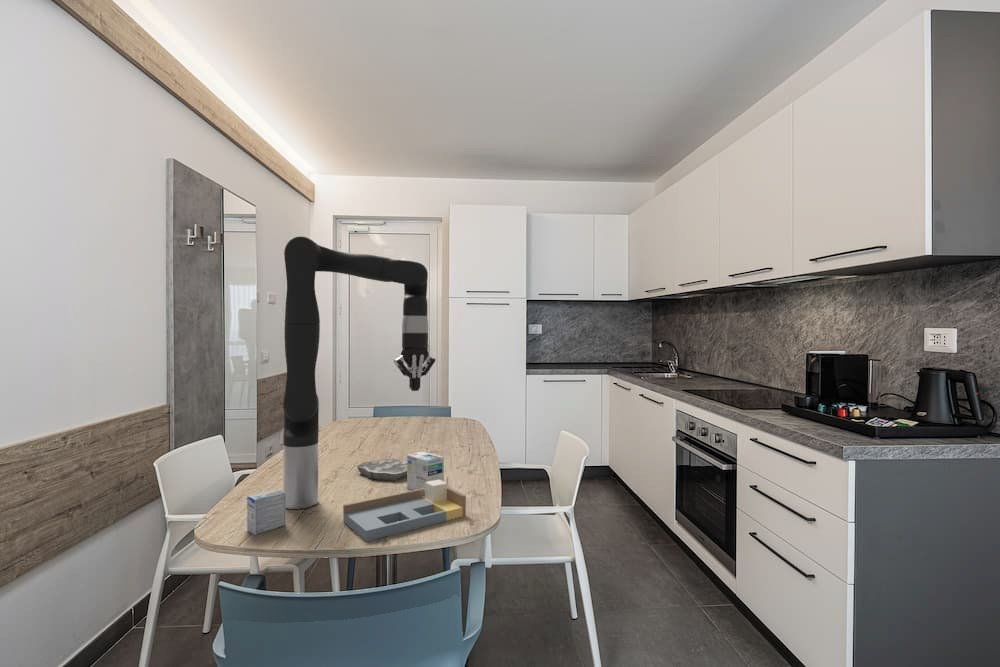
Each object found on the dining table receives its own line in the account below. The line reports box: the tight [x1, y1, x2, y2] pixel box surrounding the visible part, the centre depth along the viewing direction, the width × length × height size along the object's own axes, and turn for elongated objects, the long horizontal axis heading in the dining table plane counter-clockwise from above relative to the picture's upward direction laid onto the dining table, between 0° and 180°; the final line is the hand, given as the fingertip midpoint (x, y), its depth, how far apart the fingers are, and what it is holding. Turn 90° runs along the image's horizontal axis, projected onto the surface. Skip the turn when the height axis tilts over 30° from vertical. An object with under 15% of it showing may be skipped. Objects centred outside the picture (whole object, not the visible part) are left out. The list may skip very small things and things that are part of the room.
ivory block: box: [425, 479, 448, 502], centre depth 144 cm, size 4×4×4 cm
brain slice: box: [356, 458, 407, 481], centre depth 177 cm, size 20×17×3 cm
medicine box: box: [246, 488, 287, 536], centre depth 129 cm, size 8×4×9 cm, turn 141°
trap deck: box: [342, 486, 467, 542], centre depth 136 cm, size 15×28×6 cm, turn 127°
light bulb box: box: [406, 451, 445, 491], centre depth 160 cm, size 11×7×11 cm, turn 47°
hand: (414, 390), depth 151 cm, fingers closed
